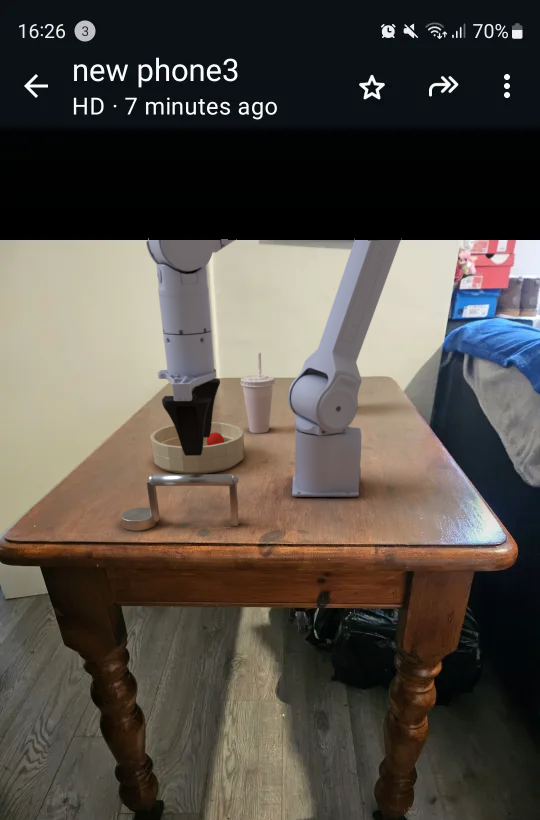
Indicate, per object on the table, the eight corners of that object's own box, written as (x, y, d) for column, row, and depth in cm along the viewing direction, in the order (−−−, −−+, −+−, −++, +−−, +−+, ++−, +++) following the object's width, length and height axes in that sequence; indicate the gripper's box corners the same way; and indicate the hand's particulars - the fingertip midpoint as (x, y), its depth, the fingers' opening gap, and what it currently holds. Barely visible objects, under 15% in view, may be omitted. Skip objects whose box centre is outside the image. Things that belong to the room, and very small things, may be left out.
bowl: (247, 446, 104) (246, 421, 102) (239, 475, 92) (238, 447, 89) (164, 446, 105) (161, 421, 103) (144, 475, 92) (140, 447, 90)
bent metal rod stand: (118, 530, 75) (110, 481, 71) (127, 517, 78) (120, 469, 75) (238, 531, 74) (236, 480, 70) (241, 517, 78) (239, 468, 74)
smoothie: (281, 431, 112) (281, 353, 105) (254, 437, 109) (251, 357, 102) (263, 424, 117) (261, 349, 110) (236, 429, 114) (232, 353, 107)
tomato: (220, 455, 101) (227, 444, 102) (218, 442, 98) (225, 431, 100) (204, 451, 101) (211, 440, 103) (202, 438, 99) (210, 426, 100)
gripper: (165, 324, 75) (177, 430, 82) (139, 341, 63) (155, 464, 70) (220, 323, 75) (227, 429, 82) (204, 340, 62) (214, 463, 69)
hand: (197, 445), depth 76 cm, fingers open, 7 cm apart
